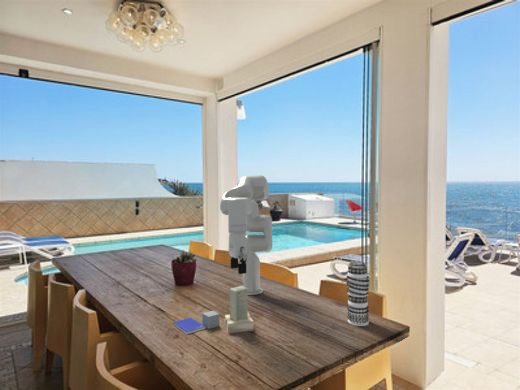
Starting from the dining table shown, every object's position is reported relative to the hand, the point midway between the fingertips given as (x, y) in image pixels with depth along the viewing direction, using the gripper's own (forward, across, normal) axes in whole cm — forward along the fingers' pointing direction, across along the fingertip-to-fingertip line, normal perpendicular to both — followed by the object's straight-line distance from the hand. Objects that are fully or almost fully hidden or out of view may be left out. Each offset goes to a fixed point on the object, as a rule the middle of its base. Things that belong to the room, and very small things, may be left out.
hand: (238, 270), depth 129 cm
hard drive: (+23, -8, -19) cm, 31 cm away
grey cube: (+23, -5, -10) cm, 26 cm away
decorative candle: (+23, +17, +47) cm, 55 cm away
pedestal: (+23, +1, 0) cm, 23 cm away
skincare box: (+19, +1, 0) cm, 19 cm away
